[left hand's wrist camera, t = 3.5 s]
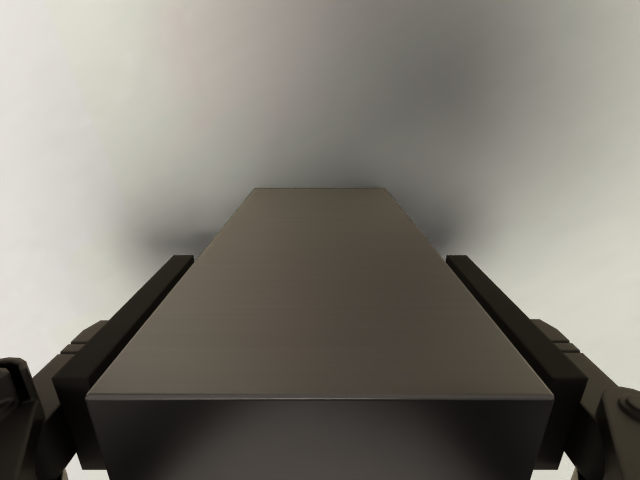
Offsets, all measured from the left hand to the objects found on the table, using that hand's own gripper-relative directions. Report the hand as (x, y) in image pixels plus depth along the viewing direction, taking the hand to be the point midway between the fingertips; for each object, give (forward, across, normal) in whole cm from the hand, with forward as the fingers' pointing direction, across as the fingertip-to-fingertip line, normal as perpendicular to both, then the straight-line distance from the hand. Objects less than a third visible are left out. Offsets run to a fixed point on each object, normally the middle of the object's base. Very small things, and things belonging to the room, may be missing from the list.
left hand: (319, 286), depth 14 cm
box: (+4, 0, -9) cm, 10 cm away
